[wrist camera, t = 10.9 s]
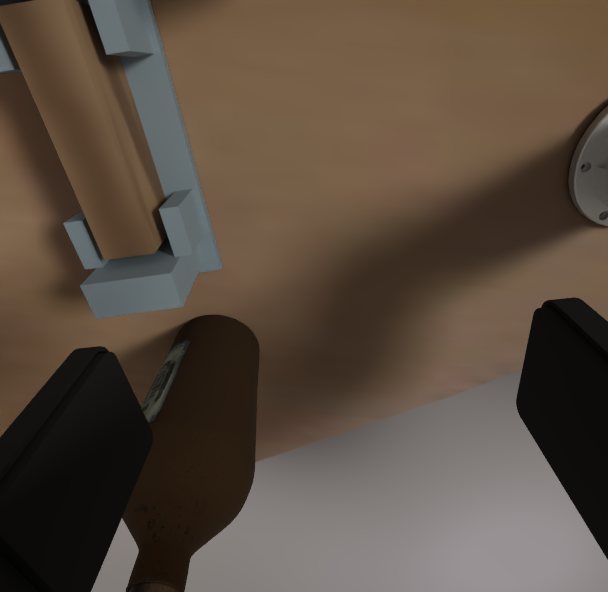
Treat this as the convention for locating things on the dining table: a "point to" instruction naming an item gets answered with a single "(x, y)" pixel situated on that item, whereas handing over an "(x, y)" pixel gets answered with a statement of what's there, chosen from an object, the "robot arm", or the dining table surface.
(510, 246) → the dining table surface
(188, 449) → the olive oil
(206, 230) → the grey bracket base
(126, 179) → the rail
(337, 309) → the dining table surface
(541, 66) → the dining table surface
